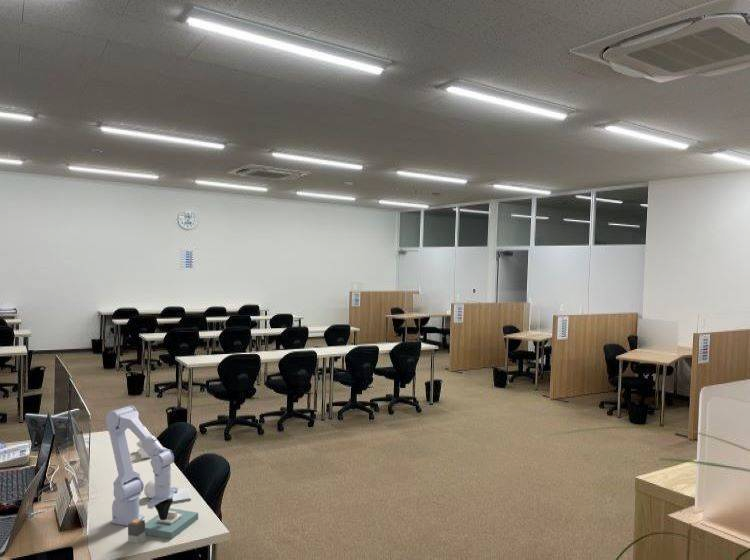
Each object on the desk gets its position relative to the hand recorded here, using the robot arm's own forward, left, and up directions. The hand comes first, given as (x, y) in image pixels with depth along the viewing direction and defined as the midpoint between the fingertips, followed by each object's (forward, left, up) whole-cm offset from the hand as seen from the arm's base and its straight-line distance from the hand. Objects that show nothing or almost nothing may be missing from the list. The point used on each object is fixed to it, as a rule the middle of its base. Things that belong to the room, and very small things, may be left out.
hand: (163, 519), depth 203 cm
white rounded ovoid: (-23, +24, -5) cm, 33 cm away
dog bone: (-61, +63, -5) cm, 88 cm away
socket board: (0, +4, -4) cm, 6 cm away
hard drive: (-13, +27, -5) cm, 30 cm away
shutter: (0, +4, -2) cm, 4 cm away
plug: (-5, -8, -4) cm, 11 cm away
